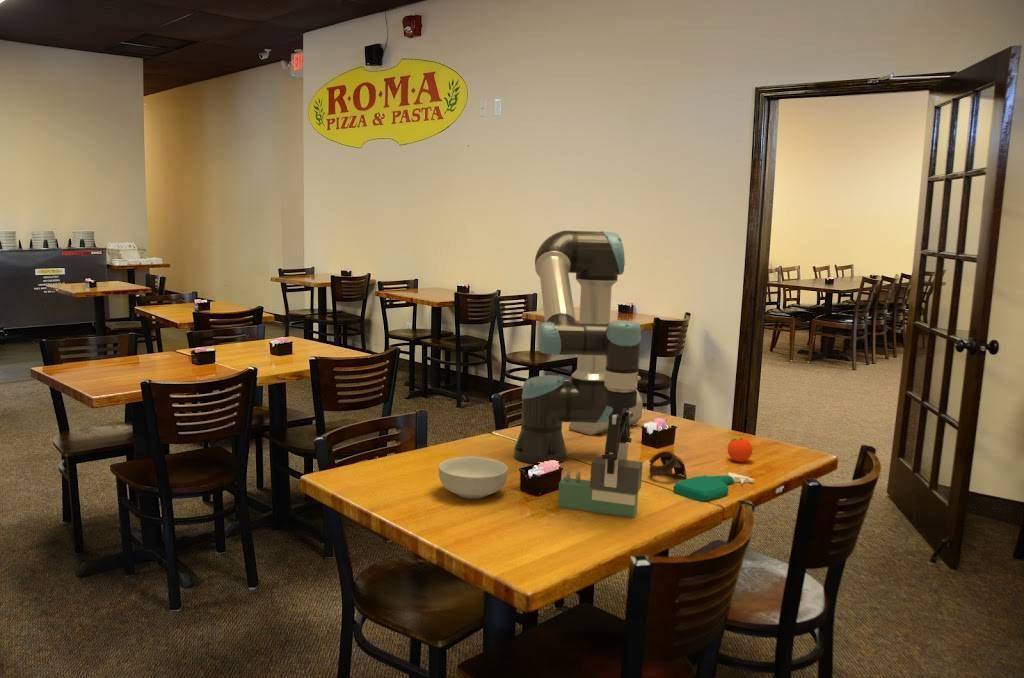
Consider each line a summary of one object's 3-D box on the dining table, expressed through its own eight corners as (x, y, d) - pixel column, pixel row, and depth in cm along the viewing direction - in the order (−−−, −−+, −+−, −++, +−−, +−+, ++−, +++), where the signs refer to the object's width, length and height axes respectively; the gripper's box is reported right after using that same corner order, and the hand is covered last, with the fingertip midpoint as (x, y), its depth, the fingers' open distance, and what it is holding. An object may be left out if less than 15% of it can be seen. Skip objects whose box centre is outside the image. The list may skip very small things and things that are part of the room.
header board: (557, 507, 190) (559, 472, 188) (562, 501, 194) (564, 467, 193) (633, 518, 184) (635, 482, 183) (636, 511, 189) (639, 476, 188)
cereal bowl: (454, 509, 186) (455, 479, 185) (427, 487, 201) (428, 460, 200) (518, 499, 194) (519, 471, 193) (488, 479, 209) (489, 453, 208)
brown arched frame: (692, 485, 211) (681, 461, 208) (658, 498, 213) (647, 474, 210) (684, 461, 222) (673, 437, 219) (652, 473, 224) (641, 450, 221)
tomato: (721, 462, 232) (723, 438, 231) (724, 456, 238) (726, 432, 237) (750, 466, 229) (752, 442, 228) (752, 459, 235) (754, 436, 234)
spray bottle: (668, 493, 204) (723, 477, 220) (705, 505, 196) (759, 487, 212) (669, 481, 204) (724, 466, 220) (706, 493, 196) (760, 476, 212)
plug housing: (590, 487, 186) (591, 462, 185) (594, 480, 191) (596, 456, 190) (637, 494, 183) (638, 468, 182) (641, 486, 188) (642, 462, 187)
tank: (606, 441, 251) (608, 402, 249) (567, 430, 262) (569, 393, 260) (653, 428, 269) (655, 392, 267) (615, 419, 280) (617, 384, 278)
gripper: (628, 401, 171) (622, 497, 174) (645, 380, 195) (639, 464, 198) (593, 398, 173) (588, 492, 177) (614, 377, 197) (609, 460, 200)
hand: (615, 477), depth 187 cm, fingers open, 13 cm apart
